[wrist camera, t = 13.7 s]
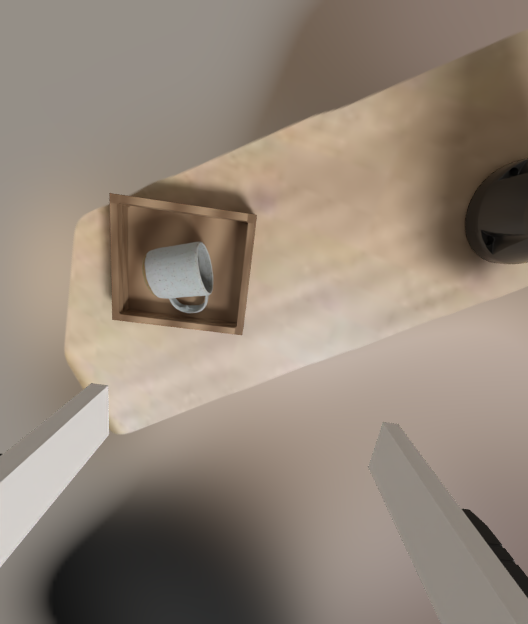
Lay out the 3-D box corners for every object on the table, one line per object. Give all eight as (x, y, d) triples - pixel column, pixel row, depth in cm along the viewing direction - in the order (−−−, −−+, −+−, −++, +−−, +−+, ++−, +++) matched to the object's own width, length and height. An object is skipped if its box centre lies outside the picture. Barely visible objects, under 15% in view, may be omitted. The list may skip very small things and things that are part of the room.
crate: (256, 217, 39) (256, 214, 35) (243, 327, 43) (242, 335, 39) (124, 198, 37) (109, 193, 34) (125, 312, 42) (112, 319, 38)
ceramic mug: (155, 249, 38) (130, 251, 31) (207, 240, 38) (195, 241, 31) (172, 313, 41) (153, 330, 34) (220, 306, 41) (212, 321, 34)
